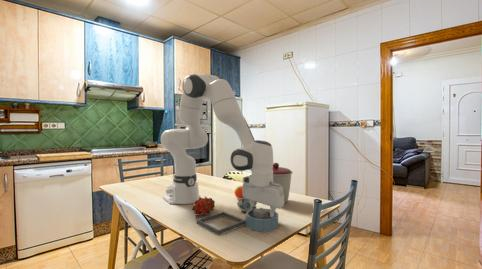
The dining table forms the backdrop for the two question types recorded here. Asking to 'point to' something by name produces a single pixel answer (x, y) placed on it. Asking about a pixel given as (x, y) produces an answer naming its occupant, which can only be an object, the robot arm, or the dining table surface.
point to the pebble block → (261, 213)
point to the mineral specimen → (244, 204)
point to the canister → (282, 179)
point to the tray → (219, 231)
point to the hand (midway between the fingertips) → (262, 213)
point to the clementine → (238, 192)
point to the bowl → (261, 222)
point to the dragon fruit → (203, 206)
